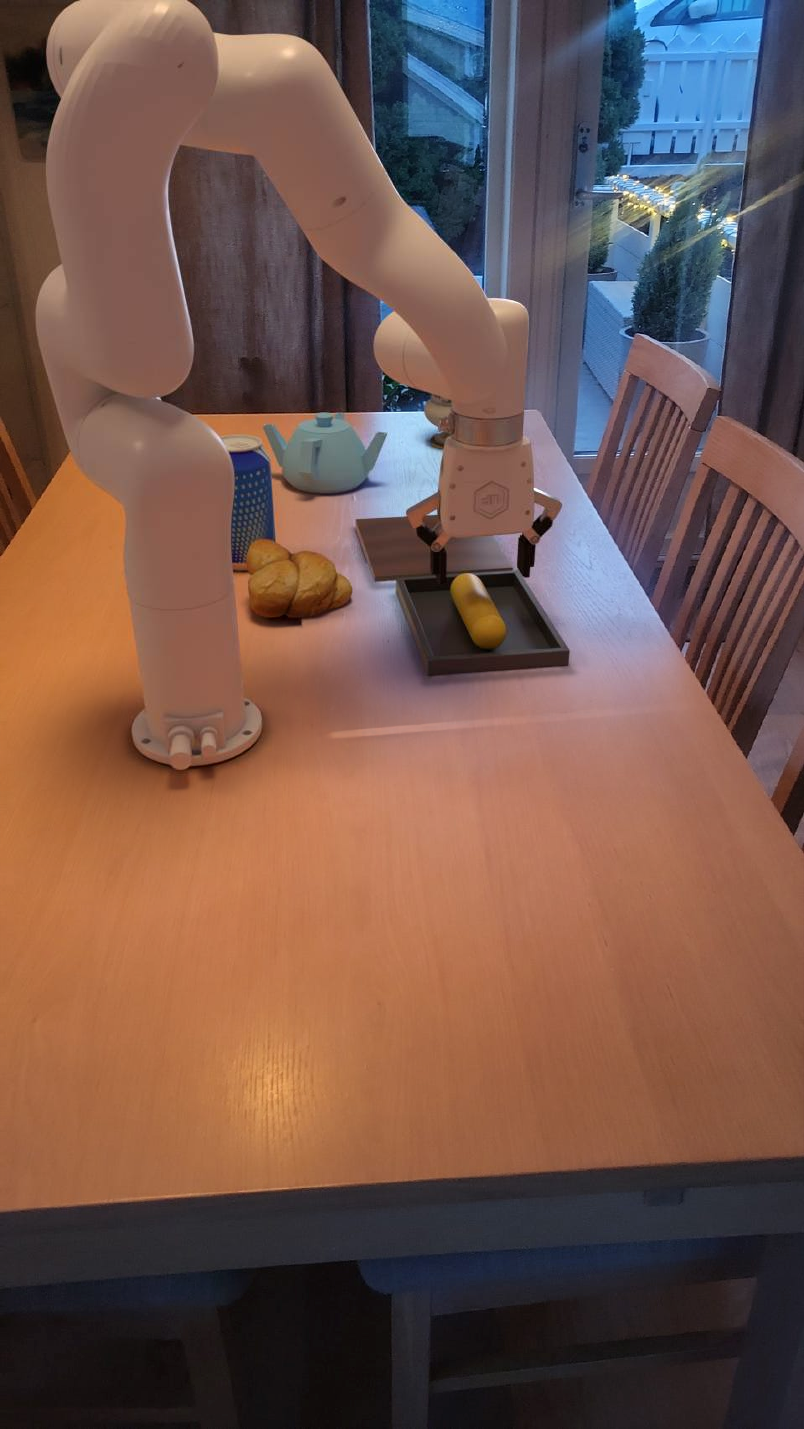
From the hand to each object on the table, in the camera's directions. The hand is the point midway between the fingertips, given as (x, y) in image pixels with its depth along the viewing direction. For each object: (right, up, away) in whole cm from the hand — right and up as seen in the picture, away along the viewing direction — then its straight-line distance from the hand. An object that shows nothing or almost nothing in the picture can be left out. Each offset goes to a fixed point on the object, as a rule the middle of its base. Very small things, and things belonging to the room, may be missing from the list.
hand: (482, 576), depth 117 cm
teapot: (-21, +22, +48) cm, 57 cm away
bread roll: (-22, -3, +8) cm, 23 cm away
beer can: (-30, +5, +21) cm, 37 cm away
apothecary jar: (+1, +32, +66) cm, 73 cm away
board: (-5, +6, +23) cm, 25 cm away
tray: (0, -6, +3) cm, 7 cm away
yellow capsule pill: (0, -5, +3) cm, 6 cm away
